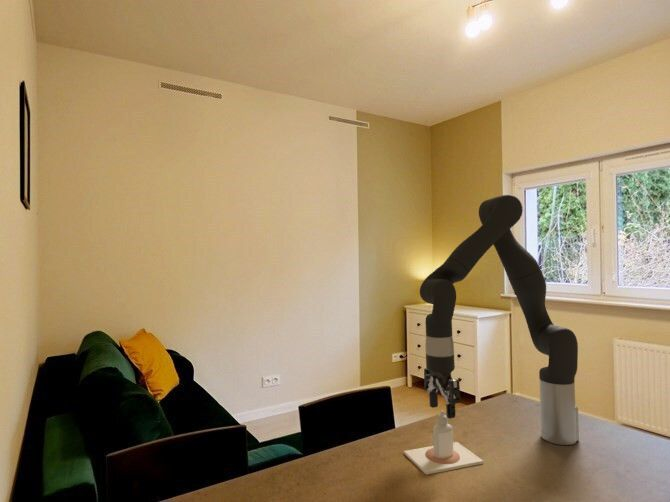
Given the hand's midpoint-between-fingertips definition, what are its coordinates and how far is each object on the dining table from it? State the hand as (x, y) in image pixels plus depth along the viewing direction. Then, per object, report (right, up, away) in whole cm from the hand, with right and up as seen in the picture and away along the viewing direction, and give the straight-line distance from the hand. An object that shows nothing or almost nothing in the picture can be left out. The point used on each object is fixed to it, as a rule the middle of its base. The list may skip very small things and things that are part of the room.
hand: (442, 412), depth 112 cm
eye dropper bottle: (0, -12, -1) cm, 12 cm away
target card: (0, -12, 0) cm, 12 cm away
